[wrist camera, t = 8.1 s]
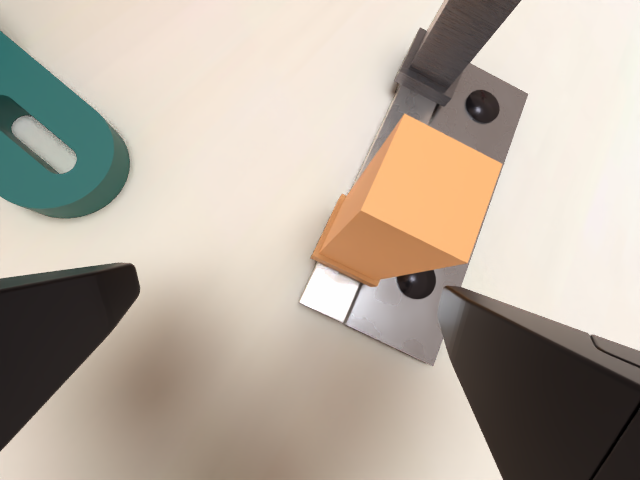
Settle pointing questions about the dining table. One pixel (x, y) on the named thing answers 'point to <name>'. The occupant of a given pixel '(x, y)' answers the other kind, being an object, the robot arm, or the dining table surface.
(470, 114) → the bolt plate
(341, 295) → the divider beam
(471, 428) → the dining table surface
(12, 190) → the bracket
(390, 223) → the block
